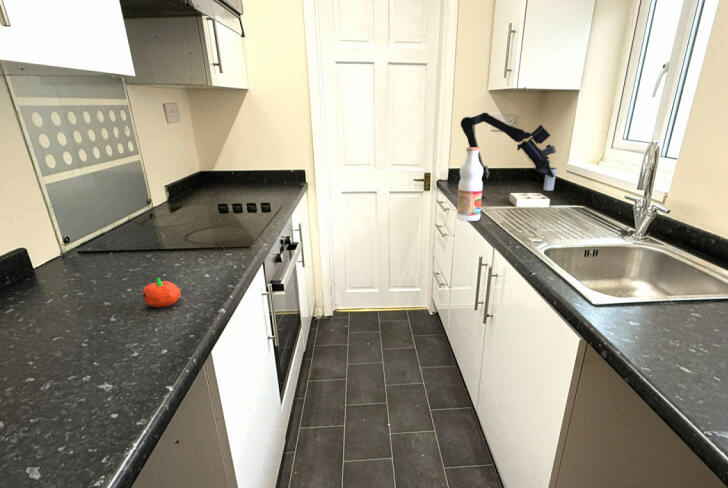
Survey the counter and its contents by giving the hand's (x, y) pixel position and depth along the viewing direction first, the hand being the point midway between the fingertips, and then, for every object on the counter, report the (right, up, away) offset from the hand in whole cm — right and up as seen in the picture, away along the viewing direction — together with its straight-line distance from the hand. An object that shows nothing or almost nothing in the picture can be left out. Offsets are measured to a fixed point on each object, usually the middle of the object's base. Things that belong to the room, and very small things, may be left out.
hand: (553, 176), depth 194 cm
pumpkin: (-127, -54, -100) cm, 171 cm away
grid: (-12, -13, +1) cm, 17 cm away
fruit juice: (-45, -24, -26) cm, 57 cm away
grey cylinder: (-1, -6, +3) cm, 7 cm away
